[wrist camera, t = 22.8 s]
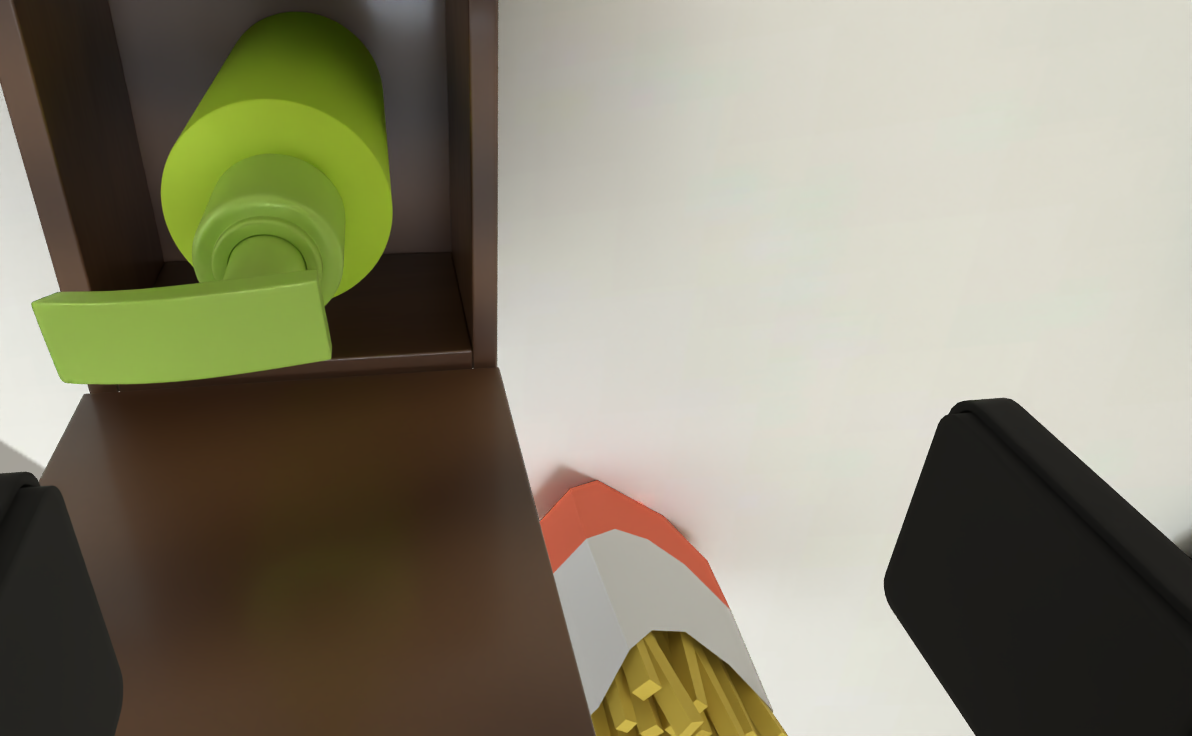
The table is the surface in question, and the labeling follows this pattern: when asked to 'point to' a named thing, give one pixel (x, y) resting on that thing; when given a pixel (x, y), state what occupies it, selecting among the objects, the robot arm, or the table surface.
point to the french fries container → (649, 623)
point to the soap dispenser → (250, 218)
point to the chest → (167, 102)
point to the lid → (321, 559)
